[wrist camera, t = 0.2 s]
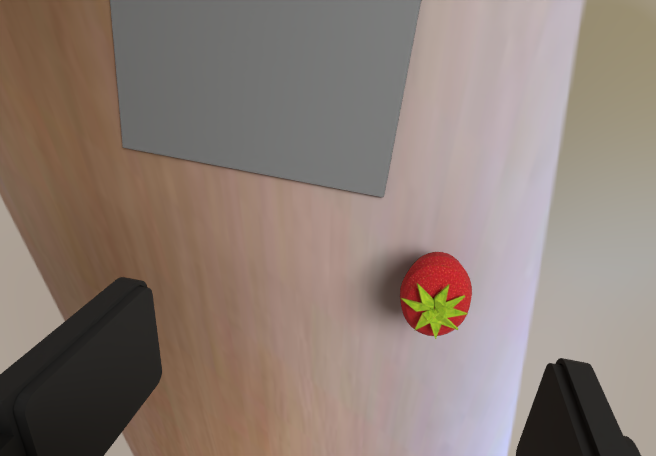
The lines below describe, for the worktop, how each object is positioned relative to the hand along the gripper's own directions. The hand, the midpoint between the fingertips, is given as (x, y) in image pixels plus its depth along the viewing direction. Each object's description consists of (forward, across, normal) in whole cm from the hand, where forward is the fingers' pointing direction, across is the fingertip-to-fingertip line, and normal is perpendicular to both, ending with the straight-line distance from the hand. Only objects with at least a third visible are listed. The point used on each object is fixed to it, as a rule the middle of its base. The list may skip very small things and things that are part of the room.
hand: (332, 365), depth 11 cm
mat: (+31, +13, -3) cm, 34 cm away
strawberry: (+31, -5, +14) cm, 34 cm away
